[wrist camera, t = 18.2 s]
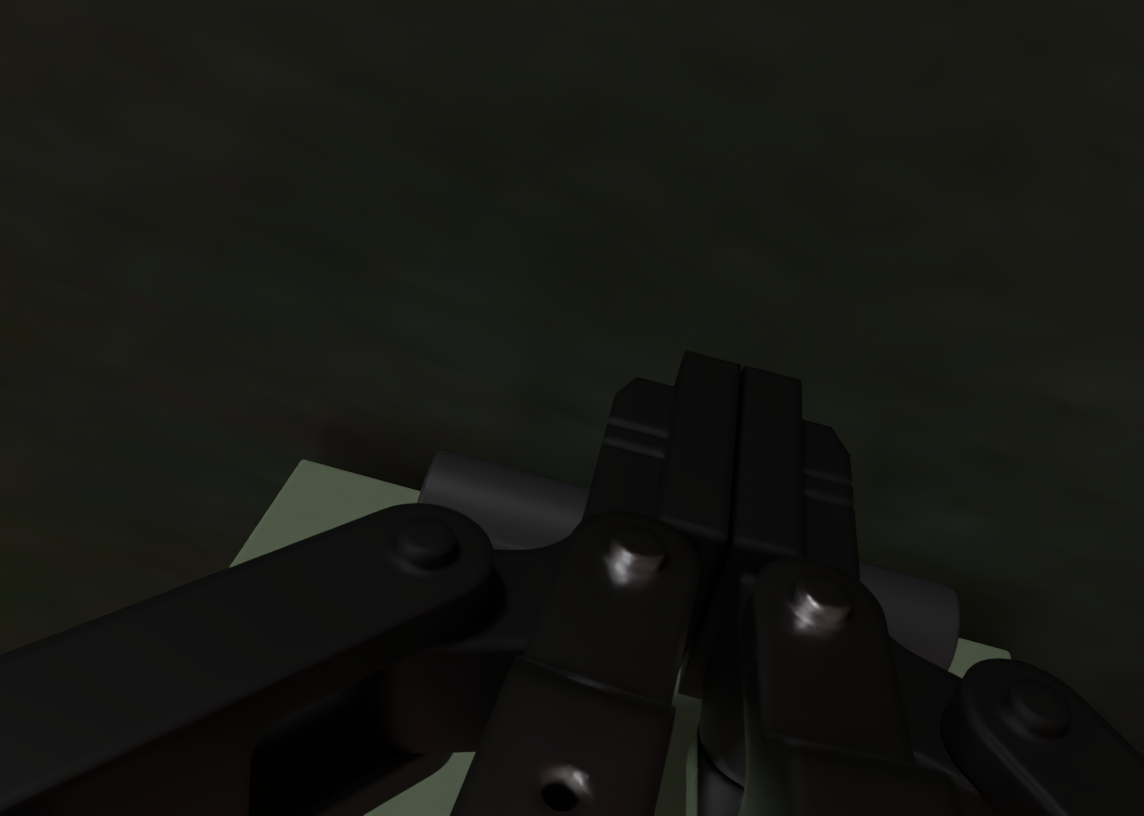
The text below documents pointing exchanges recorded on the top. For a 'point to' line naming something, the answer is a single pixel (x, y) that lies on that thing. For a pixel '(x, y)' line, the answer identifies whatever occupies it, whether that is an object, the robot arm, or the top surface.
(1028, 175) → the top surface
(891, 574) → the drawer
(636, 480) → the robot arm
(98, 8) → the top surface
